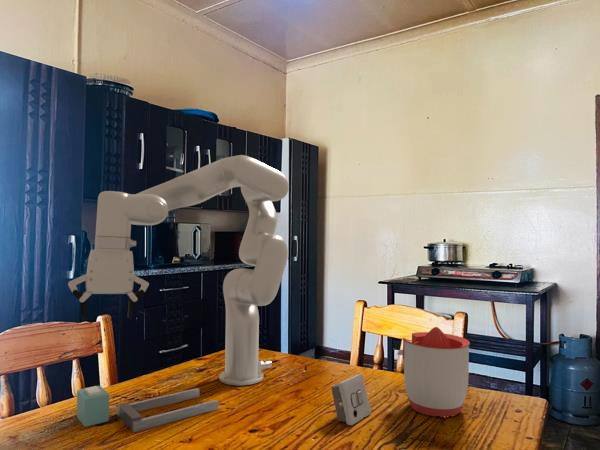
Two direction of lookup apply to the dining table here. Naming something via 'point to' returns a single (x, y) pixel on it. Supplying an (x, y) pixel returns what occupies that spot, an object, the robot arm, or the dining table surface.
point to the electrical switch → (351, 400)
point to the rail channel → (137, 423)
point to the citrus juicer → (436, 372)
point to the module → (92, 405)
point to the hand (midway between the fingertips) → (107, 318)
